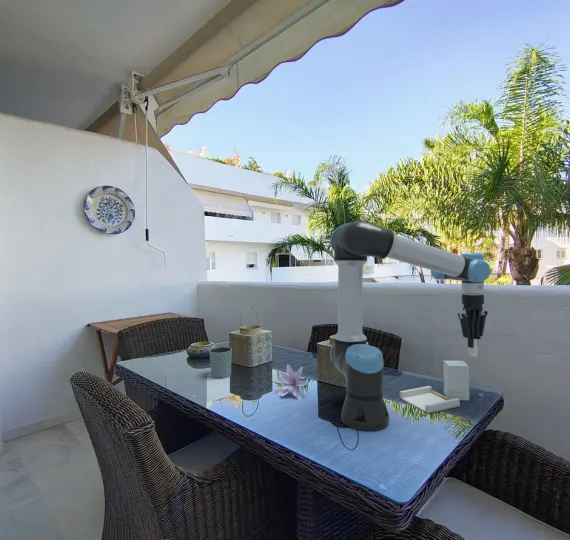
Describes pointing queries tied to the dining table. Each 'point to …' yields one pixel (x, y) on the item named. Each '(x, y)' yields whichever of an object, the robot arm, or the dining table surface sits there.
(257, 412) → the dining table surface
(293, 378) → the water lily
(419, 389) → the cradle
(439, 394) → the stop batten
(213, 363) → the grey-green cup
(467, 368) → the supplement box
